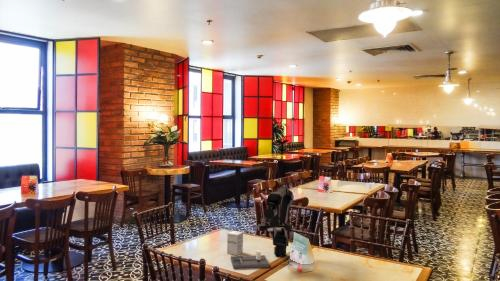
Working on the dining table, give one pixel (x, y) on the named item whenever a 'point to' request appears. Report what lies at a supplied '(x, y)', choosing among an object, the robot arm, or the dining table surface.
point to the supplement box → (235, 242)
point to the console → (249, 262)
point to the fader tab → (258, 255)
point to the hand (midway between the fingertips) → (274, 242)
